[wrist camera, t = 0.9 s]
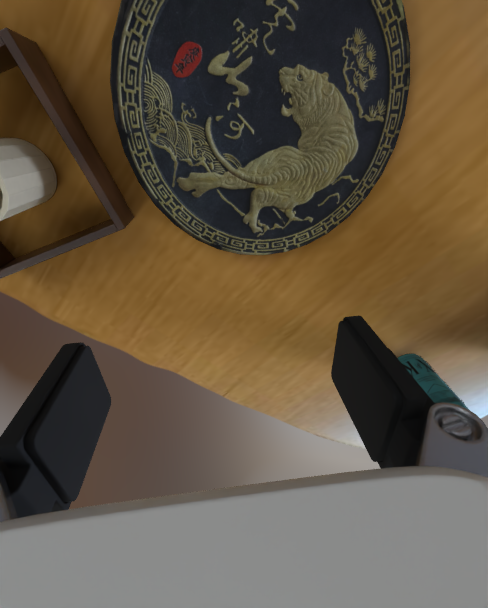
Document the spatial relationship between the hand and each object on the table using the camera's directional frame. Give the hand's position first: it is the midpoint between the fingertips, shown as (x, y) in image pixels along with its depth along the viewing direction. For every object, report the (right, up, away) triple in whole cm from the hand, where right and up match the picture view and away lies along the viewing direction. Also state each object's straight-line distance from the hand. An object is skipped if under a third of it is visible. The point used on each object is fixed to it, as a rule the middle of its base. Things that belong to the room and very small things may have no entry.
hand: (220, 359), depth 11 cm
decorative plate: (+3, +22, +20) cm, 30 cm away
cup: (-23, +16, +20) cm, 34 cm away
